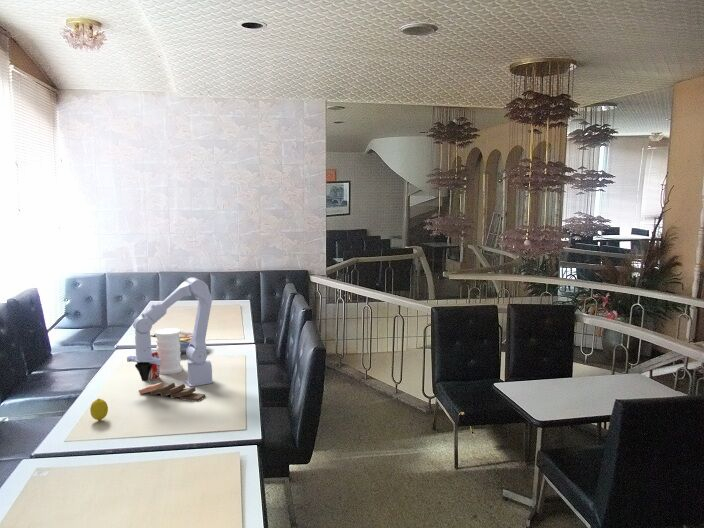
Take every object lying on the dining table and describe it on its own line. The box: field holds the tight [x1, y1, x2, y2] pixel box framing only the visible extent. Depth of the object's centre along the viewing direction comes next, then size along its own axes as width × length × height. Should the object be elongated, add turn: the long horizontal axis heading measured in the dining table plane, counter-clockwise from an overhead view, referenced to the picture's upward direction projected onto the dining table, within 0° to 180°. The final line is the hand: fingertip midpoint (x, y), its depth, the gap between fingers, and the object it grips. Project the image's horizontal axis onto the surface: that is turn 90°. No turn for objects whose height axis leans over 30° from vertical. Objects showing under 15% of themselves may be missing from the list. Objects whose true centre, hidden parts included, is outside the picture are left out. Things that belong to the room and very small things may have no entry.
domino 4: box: [179, 392, 206, 402], centre depth 211 cm, size 2×5×8 cm
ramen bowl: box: [150, 331, 194, 354], centre depth 274 cm, size 25×23×8 cm
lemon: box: [89, 398, 109, 422], centre depth 189 cm, size 6×6×8 cm
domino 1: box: [150, 382, 176, 396], centre depth 214 cm, size 2×5×8 cm
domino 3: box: [169, 386, 197, 399], centre depth 212 cm, size 2×5×8 cm
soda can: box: [147, 349, 161, 382], centre depth 232 cm, size 7×7×12 cm
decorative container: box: [154, 327, 184, 375], centre depth 243 cm, size 12×12×18 cm
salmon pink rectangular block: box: [138, 381, 165, 395], centre depth 216 cm, size 2×5×8 cm
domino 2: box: [160, 383, 186, 397], centre depth 213 cm, size 2×5×8 cm
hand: (145, 380), depth 216 cm, fingers closed
